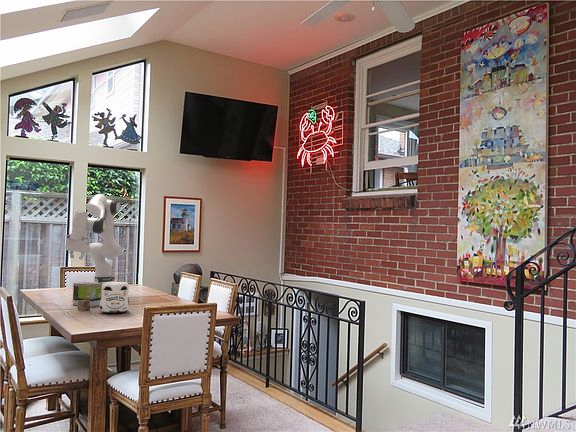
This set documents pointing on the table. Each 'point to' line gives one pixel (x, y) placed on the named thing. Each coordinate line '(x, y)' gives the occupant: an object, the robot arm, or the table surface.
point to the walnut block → (83, 305)
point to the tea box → (87, 292)
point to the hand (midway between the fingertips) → (76, 258)
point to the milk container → (114, 297)
